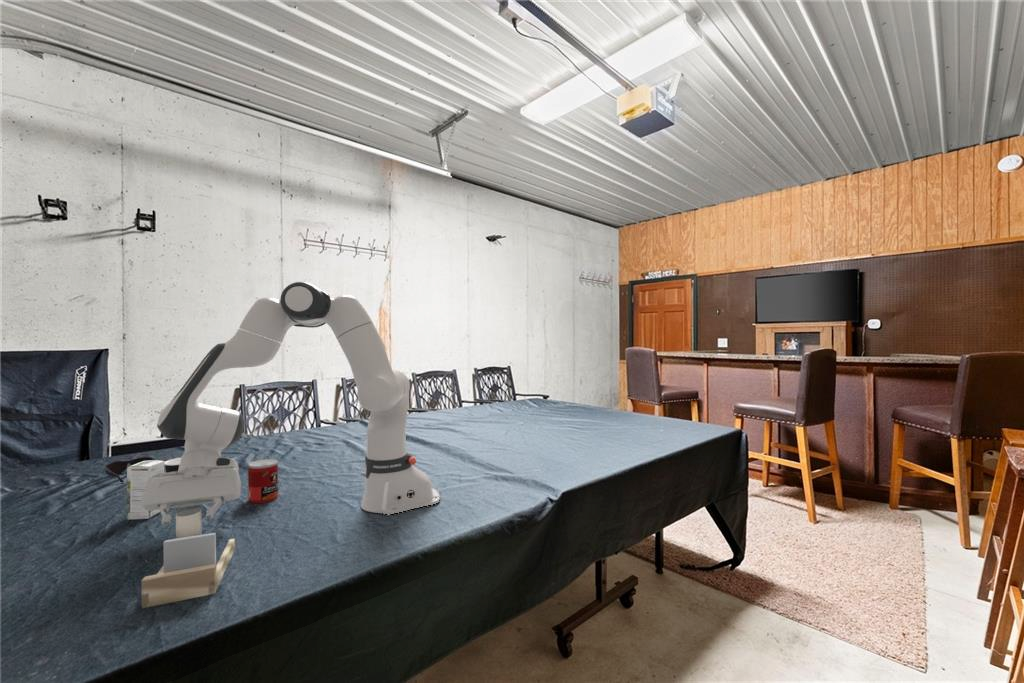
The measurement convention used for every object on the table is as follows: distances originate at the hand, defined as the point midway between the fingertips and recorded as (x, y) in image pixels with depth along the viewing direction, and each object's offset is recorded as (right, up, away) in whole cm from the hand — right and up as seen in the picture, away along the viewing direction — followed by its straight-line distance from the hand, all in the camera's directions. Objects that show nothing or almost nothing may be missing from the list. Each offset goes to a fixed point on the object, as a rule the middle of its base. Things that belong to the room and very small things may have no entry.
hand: (188, 520), depth 103 cm
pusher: (+14, -5, -17) cm, 23 cm away
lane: (+13, -5, -16) cm, 21 cm away
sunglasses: (-56, -5, +48) cm, 74 cm away
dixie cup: (-24, -4, +28) cm, 38 cm away
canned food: (+3, -4, +26) cm, 27 cm away
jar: (0, -4, +1) cm, 5 cm away
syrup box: (-22, -5, +14) cm, 27 cm away
